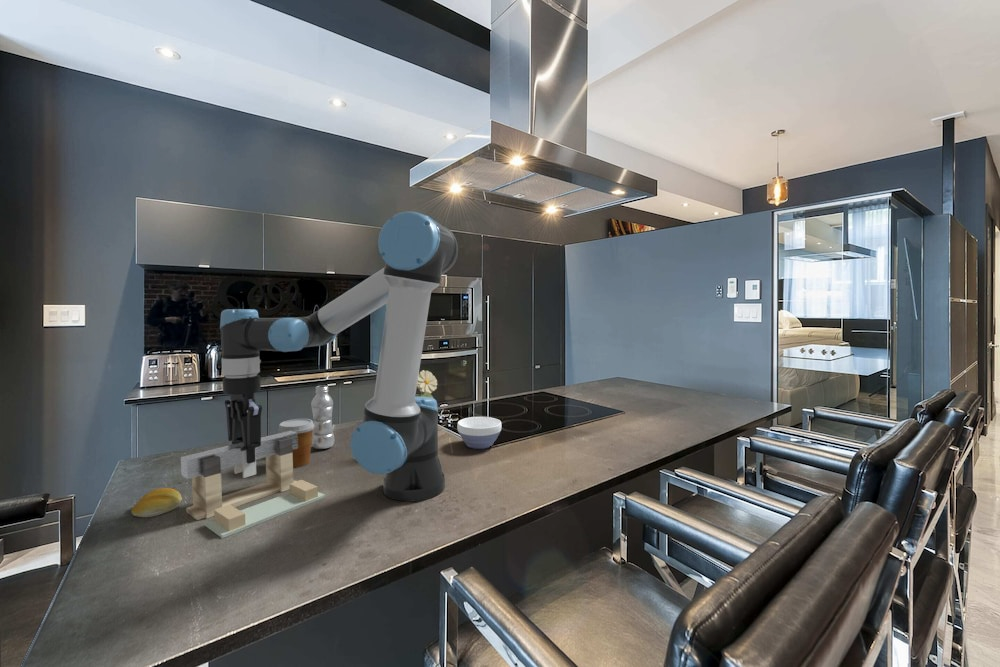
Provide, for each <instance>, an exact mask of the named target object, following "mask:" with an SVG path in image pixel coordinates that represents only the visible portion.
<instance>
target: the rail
mask: <svg viewBox="0 0 1000 667" xmlns="http://www.w3.org/2000/svg"><path fill="white" fill-rule="evenodd" d="M269 435H270V436H269ZM269 435H265V436H266V437H265V436H261V446H259V447H256V461H258V460H261V459H266V457H269V456H272V455H276V454H278V444H277V441H279V440H283V439H287V438H292V450H294V449H297V448H298V433H296V432H293V431H287V432H283V433H279V432H278V433H274V435H273V434H269ZM240 448H244V446H243V442H241V443H237V444H233V445H232V444H229V445H225V446H220V447H217V448H212V449H209V450H203V451H204V452H202V451H199V452H200V453H198V452H194V453H195V454H194V453H192V454H187V455H183V456H180V472H181V476H182V477H183V478H186V479H187V480H189V479H192V478H194V477H197V476H201V475H203V468H202V460H204V459H208V458H212V457H216V456H219V457H220V463H221V471H222V470H225V469H229V468H232V467H233V468H234V466H236V465H240V464H242V451H241V450H240Z"/></svg>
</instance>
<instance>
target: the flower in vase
mask: <svg viewBox="0 0 1000 667" xmlns="http://www.w3.org/2000/svg"><path fill="white" fill-rule="evenodd" d="M438 385H439V384H438V380H437V378H436V376H435V375H433V373H432V372H431V371H429V370H424V369H423V370H421V371H419V375H418V382H417V389H418V390H419V392H420V395H419V396H422V397H431V398H434V396H433V395H432V393H433V392H435V391H436V390H437V388H438V387H437V386H438Z"/></svg>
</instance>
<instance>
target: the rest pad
mask: <svg viewBox="0 0 1000 667" xmlns="http://www.w3.org/2000/svg"><path fill="white" fill-rule="evenodd" d="M289 485H290V489H289V492H288V493H285V494H282V495H279V496H277V497H274V498H270V499H269V500H265V501H263V502H260V503H257V504H254V505H252V506H249V507H246V508H243V509H241V510H240V509H238V508H237V507H233V506H232V505H230V504H229V505H226V506H224V507H221V508H218V509H215V510H214V516H213V518H214V519H213V520H211V521H207V522H205V527H206V528H207V529H209V530H210V531H212V532H213V533H215V534H216V535H218V536H219V537H220V538H221V539H224V538H227V537H229V536H232V535H234V534H237V533H239V532H242V531H244V530H246V529H249V528H252V527H254V526H257V525H259V524H262V523H264V522H267V521H269V520H272V519H274V518H276V517H279V516H282V515H285V514H287V513H289V512H292V511H294V510H295V511H296V510H297V509H299V508H302V507H304V506H306V505H309V504H311V503H314V502H317V501H319V500H322V499H325V498H326V494H325V493H322V492H319V491H318V490H319V487H318V485H315V484H313V483H311V482H308V481H306V480H303V479H299V480H296V482H293V483H290V484H289Z"/></svg>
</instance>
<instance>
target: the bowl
mask: <svg viewBox="0 0 1000 667" xmlns="http://www.w3.org/2000/svg"><path fill="white" fill-rule="evenodd" d="M456 427H457V432H458V434H459V436H460V437H461V440H462V441H463V442H464V443H465V445H466V447H468V448H470V449H475V450H482V449H488V448H490V446H491V447H492V446H493V445H494V442H495V441H497V439H498V436H499V435H500V433H501V431H502V421H501V420H500V419H498V418H494V417H491V416H471V417H470V416H469V417H465V418H462V419H460V420H458V421H457V426H456Z"/></svg>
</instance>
